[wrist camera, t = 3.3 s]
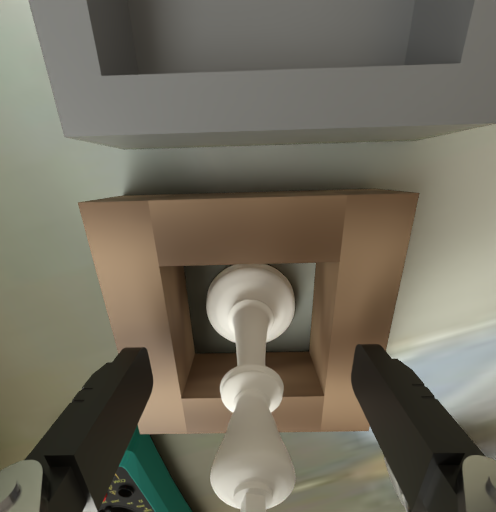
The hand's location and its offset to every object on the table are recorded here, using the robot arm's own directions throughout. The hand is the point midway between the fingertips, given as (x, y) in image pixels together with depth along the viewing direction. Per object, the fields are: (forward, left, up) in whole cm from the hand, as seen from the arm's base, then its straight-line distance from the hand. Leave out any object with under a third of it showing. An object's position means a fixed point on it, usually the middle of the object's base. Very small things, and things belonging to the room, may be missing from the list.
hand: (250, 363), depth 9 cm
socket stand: (0, 0, -4) cm, 4 cm away
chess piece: (0, 0, -5) cm, 5 cm away
